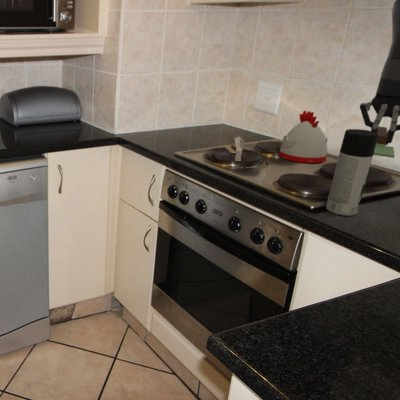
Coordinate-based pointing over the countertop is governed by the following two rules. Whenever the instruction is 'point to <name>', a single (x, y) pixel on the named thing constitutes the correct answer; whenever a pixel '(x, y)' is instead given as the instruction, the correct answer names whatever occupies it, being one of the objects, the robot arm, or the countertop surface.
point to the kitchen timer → (305, 141)
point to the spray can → (351, 171)
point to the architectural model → (238, 151)
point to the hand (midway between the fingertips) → (379, 143)
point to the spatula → (383, 144)
